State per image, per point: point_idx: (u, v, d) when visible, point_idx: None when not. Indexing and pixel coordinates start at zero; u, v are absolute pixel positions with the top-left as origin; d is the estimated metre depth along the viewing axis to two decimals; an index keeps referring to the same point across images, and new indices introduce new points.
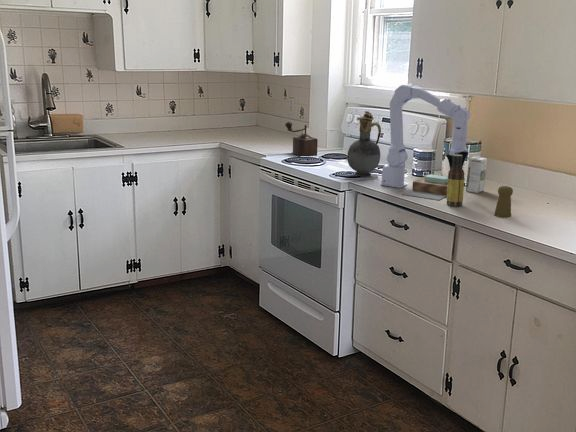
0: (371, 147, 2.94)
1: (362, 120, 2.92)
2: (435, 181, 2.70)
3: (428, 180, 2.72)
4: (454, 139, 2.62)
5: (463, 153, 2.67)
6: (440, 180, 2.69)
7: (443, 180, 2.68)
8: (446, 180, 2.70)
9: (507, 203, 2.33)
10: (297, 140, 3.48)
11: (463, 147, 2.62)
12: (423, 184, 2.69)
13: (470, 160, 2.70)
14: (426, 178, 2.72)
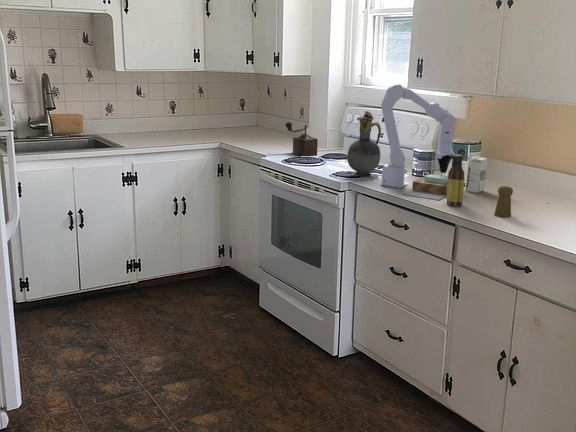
0: (371, 147, 2.94)
1: (362, 120, 2.92)
2: (435, 181, 2.70)
3: (428, 180, 2.72)
4: (441, 143, 2.73)
5: (447, 157, 2.76)
6: (440, 180, 2.69)
7: (443, 180, 2.68)
8: (446, 180, 2.70)
9: (507, 203, 2.33)
10: (297, 140, 3.48)
11: (449, 150, 2.73)
12: (423, 184, 2.69)
13: (470, 160, 2.70)
14: (426, 178, 2.72)
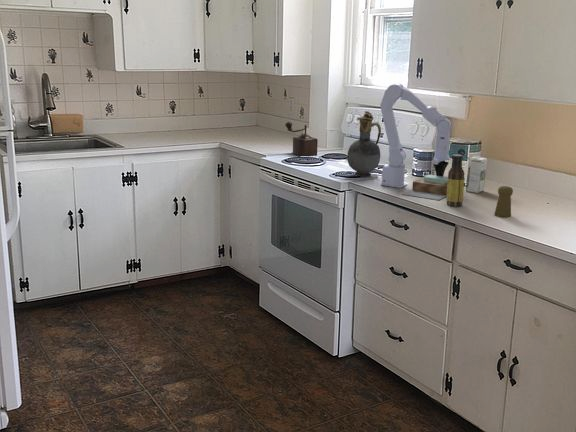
0: (371, 147, 2.94)
1: (362, 120, 2.92)
2: (434, 181, 2.69)
3: (427, 180, 2.71)
4: (437, 148, 2.70)
5: None
6: (439, 180, 2.68)
7: (442, 180, 2.67)
8: (445, 180, 2.69)
9: (507, 203, 2.33)
10: (297, 140, 3.48)
11: (446, 156, 2.70)
12: (423, 184, 2.69)
13: (470, 160, 2.70)
14: (425, 178, 2.71)
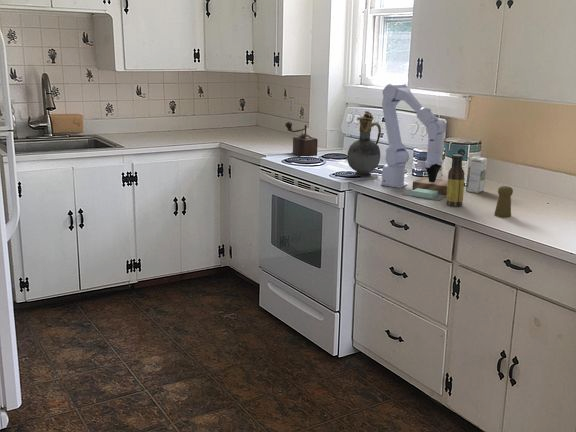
0: (371, 147, 2.94)
1: (362, 120, 2.92)
2: None
3: None
4: (429, 151, 2.63)
5: (436, 166, 2.66)
6: None
7: None
8: (436, 194, 2.61)
9: (507, 203, 2.33)
10: (297, 140, 3.48)
11: (438, 159, 2.63)
12: (423, 184, 2.69)
13: (470, 160, 2.70)
14: None
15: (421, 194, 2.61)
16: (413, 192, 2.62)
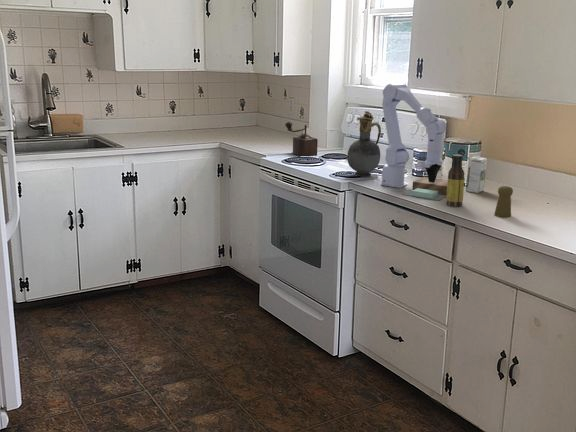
0: (371, 147, 2.94)
1: (362, 120, 2.92)
2: None
3: None
4: (429, 151, 2.63)
5: (435, 166, 2.66)
6: None
7: None
8: (436, 194, 2.61)
9: (507, 203, 2.33)
10: (297, 140, 3.48)
11: (438, 159, 2.63)
12: (423, 184, 2.69)
13: (470, 160, 2.70)
14: None
15: (421, 194, 2.61)
16: (413, 192, 2.62)
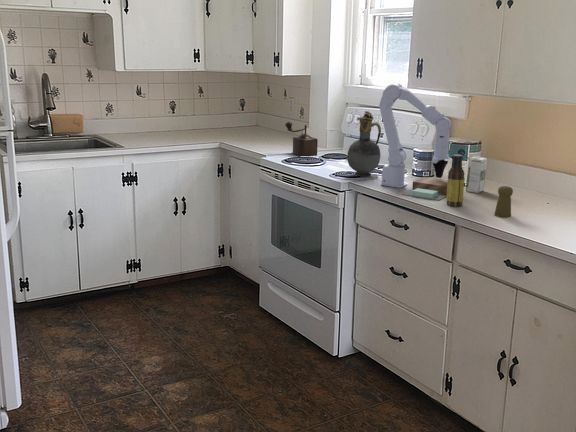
0: (371, 147, 2.94)
1: (362, 120, 2.92)
2: None
3: None
4: (436, 147, 2.69)
5: None
6: None
7: None
8: (436, 194, 2.61)
9: (507, 203, 2.33)
10: (297, 140, 3.48)
11: (445, 155, 2.69)
12: (423, 184, 2.69)
13: (470, 160, 2.70)
14: None
15: (421, 194, 2.61)
16: (413, 192, 2.62)
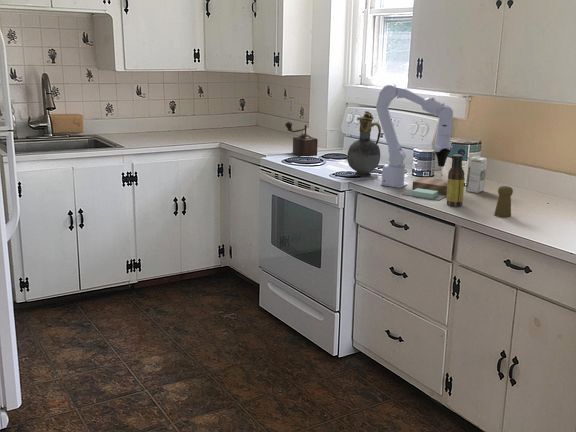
0: (371, 147, 2.94)
1: (362, 120, 2.92)
2: None
3: None
4: (439, 136, 2.70)
5: None
6: None
7: None
8: (436, 194, 2.61)
9: (507, 203, 2.33)
10: (297, 140, 3.48)
11: (448, 144, 2.70)
12: (423, 184, 2.69)
13: (470, 160, 2.70)
14: None
15: (421, 194, 2.61)
16: (413, 192, 2.62)
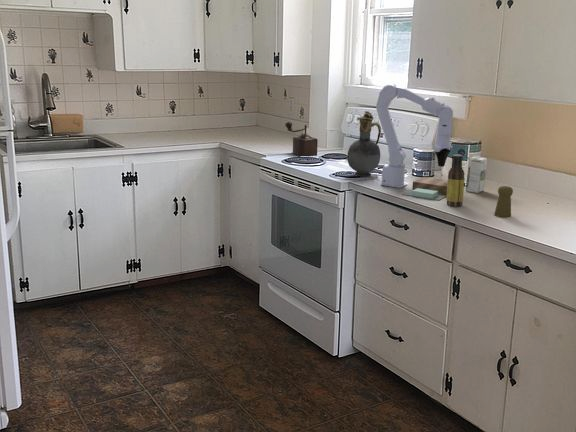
0: (371, 147, 2.94)
1: (362, 120, 2.92)
2: None
3: None
4: (439, 136, 2.70)
5: None
6: None
7: None
8: (436, 194, 2.61)
9: (507, 203, 2.33)
10: (297, 140, 3.48)
11: (448, 144, 2.70)
12: (423, 184, 2.69)
13: (470, 160, 2.70)
14: None
15: (421, 194, 2.61)
16: (413, 192, 2.62)
